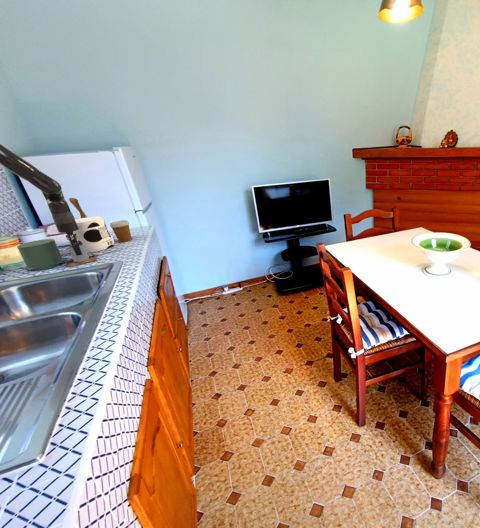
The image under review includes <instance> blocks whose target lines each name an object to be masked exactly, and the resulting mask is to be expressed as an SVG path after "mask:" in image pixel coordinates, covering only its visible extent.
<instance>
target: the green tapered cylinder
mask: <svg viewBox="0 0 480 528" xmlns="http://www.w3.org/2000/svg"><path fill="white" fill-rule="evenodd" d="M16 247H17V250H18V252H19V254H20V256H21V257H22V260H23V262H24V263H25V265H26V268H27V269H28V270H27V272H40V271H45V270H50V269H54V268H57V267H59V266H62V265H64V264H65V263H66V261H63V260H64V258H63V256H62V254H61V251H60V249H59V246H58V245H57V243H56V240H55V239H54V238H44V239H38V240H33V241H27V242H24V243H21V244H19V245H17V246H16Z"/></svg>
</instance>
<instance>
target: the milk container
mask: <svg viewBox="0 0 480 528" xmlns="http://www.w3.org/2000/svg"><path fill="white" fill-rule="evenodd" d="M75 221H76V223H77V225H78V228H79V229H78V230H76V231H73V233H74V234H76V235H77V239H78V241H79V243H78V244H84V247H85V249H86V252H87V254H93V253H98V252H102V251H105V250H109V249H111V248H113V247H114V246H115V240H114V238H113V236H112V235H111V234H110V232H109V230H108V227H107V225H106V222H105V219H104V218H103V216H87V218H81V217H80V218H75Z"/></svg>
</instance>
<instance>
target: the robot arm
mask: <svg viewBox="0 0 480 528" xmlns="http://www.w3.org/2000/svg"><path fill="white" fill-rule="evenodd" d="M0 165H1V166H2V167H4V168H5V169H7V170H8V171H9V172H11V173H13V174H14V175H16V176H18V177H19V178H21V179H23V180H24V181H26V182H28V183H29V184H31V185H32V186H34V187H35V188H36V189H38V190H40V192H41V193H42V195H43V198H44V200H45V201H46V203H47V204H46V205H47V207H48V210H49V212H50V214H51V217H52V220H53V222H54V225H55V228H56V229H57V232H58V233H60V234H65V238H66V240H67V241H68V243H69V246H71V245H72V248H73V249H74V251H75V253H76V255H77V256H78V255H82V252H81V250H80V248H79V247H80V246H79V244H78V243H79V241H78V239H77V235H76V234H74V233H73V231H76V230H78V229H79V228H78V225H77V223H76V221H75V220H76V218H75V215H74V214H73V212H72V210H71V208H70V205H69V203H68V202H67V200H66V198H65V196H64V193H63V189H62V185H61V184H60V182H59V181H57V180H55V179H54V178H52V177H50V176H49V175H47V174H46V173H44V172H42V171H41V170H40V169H38V168H37V167H36V166H35V165H33V164H31V163H30V162H29V161H27V160H26V159H24V158H23V157H21V156H19V155H18V154H16V153H15V152H13V151H12V150H10V149H9V148H7V147H6V146H5V145H3V144H1V143H0ZM76 244H77V245H76Z"/></svg>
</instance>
